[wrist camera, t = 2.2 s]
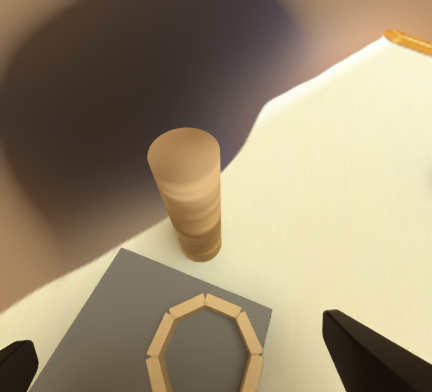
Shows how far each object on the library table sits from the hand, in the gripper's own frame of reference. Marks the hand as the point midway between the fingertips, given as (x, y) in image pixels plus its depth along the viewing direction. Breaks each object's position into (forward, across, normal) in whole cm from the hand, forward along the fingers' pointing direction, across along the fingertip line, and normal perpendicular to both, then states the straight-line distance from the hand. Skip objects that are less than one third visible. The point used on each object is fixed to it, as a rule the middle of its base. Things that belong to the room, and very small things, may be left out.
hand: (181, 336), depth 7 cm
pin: (+16, 0, +4) cm, 17 cm away
